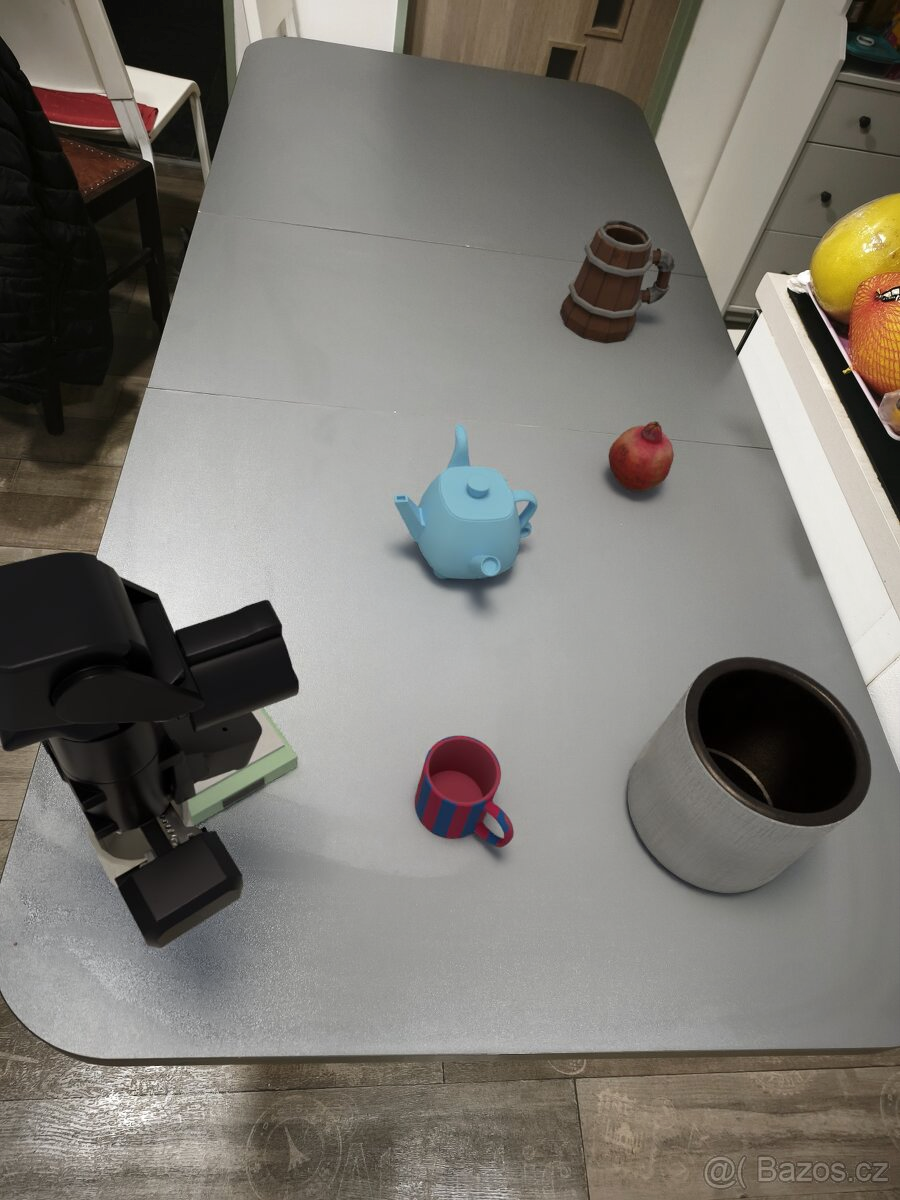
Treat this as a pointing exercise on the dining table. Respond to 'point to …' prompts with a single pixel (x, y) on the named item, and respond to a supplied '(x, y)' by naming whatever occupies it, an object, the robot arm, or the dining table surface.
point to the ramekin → (130, 845)
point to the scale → (245, 772)
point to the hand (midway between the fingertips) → (148, 845)
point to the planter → (747, 775)
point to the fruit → (641, 457)
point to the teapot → (468, 518)
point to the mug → (614, 282)
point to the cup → (461, 790)
